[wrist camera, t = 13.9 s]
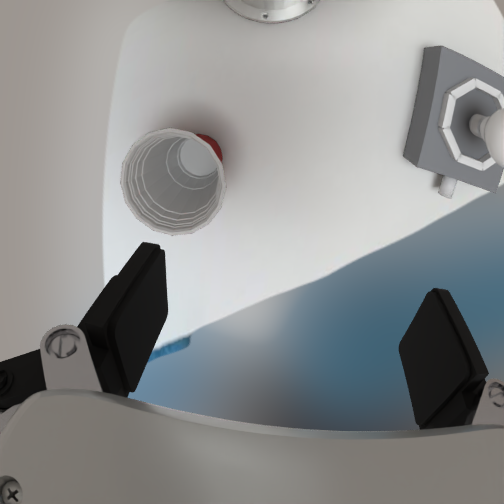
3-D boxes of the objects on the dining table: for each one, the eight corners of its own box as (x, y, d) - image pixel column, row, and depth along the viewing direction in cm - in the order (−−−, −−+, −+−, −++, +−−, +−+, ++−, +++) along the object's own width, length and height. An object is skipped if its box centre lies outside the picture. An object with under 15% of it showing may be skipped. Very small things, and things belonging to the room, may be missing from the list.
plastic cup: (257, 134, 37) (244, 159, 26) (222, 205, 42) (200, 252, 32) (178, 100, 35) (136, 112, 25) (151, 173, 41) (109, 209, 30)
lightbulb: (451, 146, 29) (503, 177, 20) (455, 93, 26) (512, 107, 16) (491, 152, 28) (545, 185, 19) (495, 103, 25) (554, 122, 16)
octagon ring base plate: (424, 47, 27) (446, 44, 22) (500, 84, 27) (527, 89, 22) (397, 177, 37) (413, 194, 32) (471, 198, 37) (492, 217, 31)
